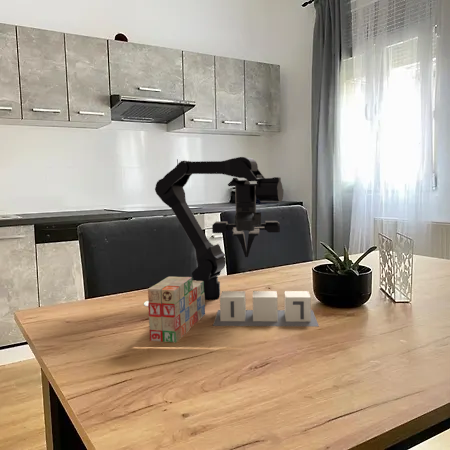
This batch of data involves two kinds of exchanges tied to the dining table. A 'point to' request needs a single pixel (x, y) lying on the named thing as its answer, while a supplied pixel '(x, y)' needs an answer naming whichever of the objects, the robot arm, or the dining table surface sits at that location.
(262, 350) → the dining table surface
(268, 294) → the blank block
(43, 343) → the dining table surface
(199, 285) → the stack of blocks
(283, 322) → the tap mat
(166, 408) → the dining table surface
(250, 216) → the robot arm
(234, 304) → the digit block 1
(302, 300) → the digit block 7
